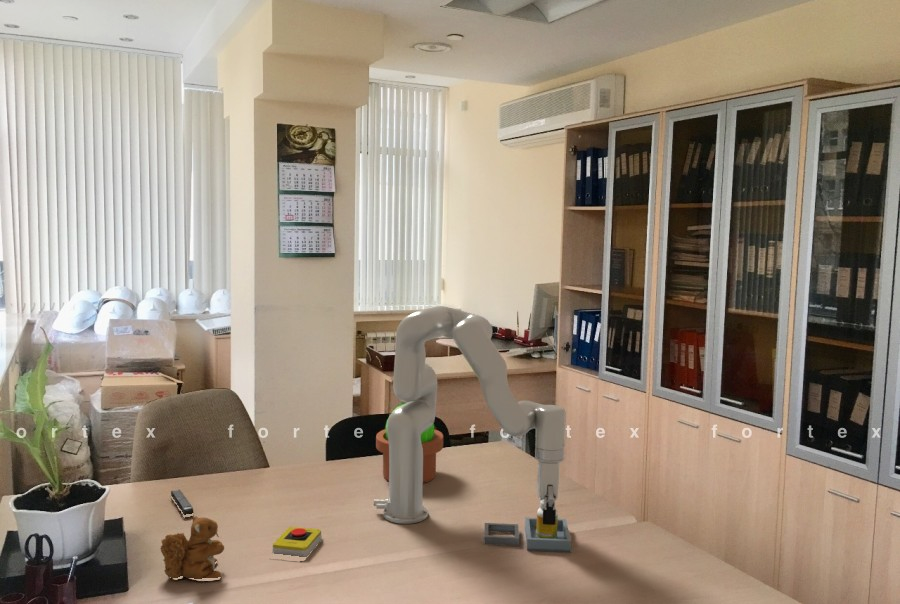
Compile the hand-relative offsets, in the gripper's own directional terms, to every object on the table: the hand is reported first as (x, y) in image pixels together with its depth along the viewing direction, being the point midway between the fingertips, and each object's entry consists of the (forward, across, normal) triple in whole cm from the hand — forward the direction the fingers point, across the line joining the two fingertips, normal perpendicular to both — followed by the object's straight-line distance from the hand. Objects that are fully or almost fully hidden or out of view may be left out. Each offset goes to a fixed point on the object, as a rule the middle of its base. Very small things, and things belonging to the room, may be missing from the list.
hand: (547, 516), depth 188 cm
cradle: (+6, 0, -12) cm, 14 cm away
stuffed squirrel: (+7, +28, -84) cm, 88 cm away
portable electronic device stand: (+7, -11, -104) cm, 104 cm away
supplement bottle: (+6, 0, 0) cm, 6 cm away
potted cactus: (+7, -45, -42) cm, 62 cm away
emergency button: (+7, +11, -64) cm, 65 cm away
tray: (+6, 0, 0) cm, 6 cm away
